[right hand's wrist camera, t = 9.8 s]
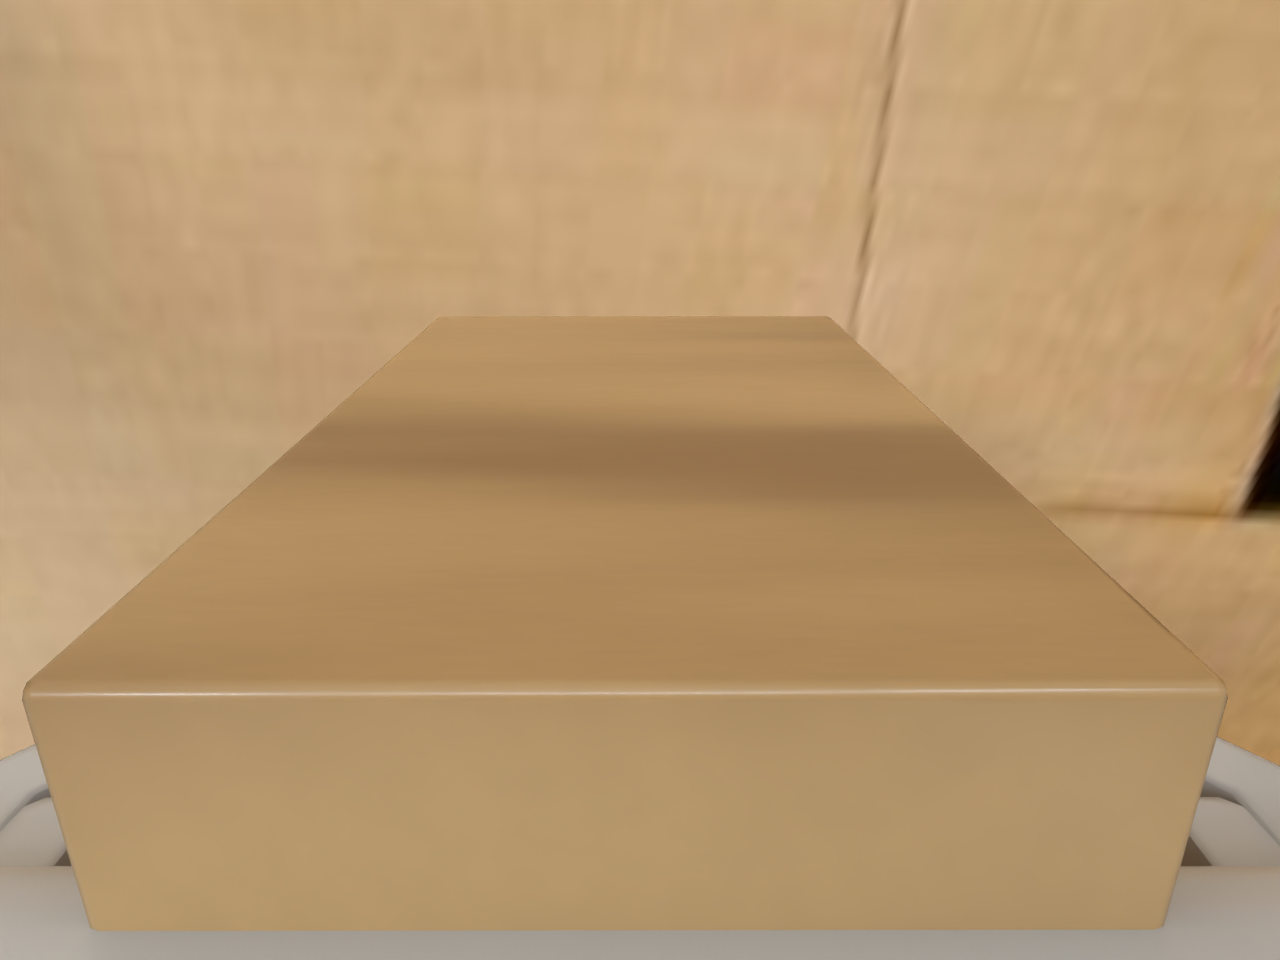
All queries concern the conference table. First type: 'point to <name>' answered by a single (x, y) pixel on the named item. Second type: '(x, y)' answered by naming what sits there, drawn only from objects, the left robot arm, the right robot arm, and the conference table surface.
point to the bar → (627, 665)
